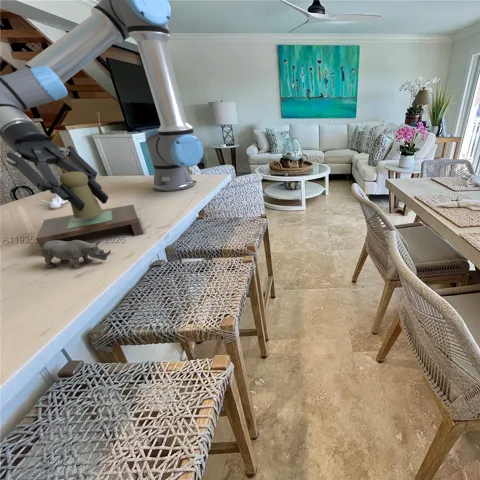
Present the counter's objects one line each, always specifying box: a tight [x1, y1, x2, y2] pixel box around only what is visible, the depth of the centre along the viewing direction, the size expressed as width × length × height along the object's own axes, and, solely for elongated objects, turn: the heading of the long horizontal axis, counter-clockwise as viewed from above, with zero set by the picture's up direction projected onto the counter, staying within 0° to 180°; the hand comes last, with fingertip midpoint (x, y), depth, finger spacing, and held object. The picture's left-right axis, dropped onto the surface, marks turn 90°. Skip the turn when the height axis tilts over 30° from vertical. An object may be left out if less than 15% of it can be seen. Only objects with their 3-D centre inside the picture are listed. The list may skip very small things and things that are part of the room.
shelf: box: [35, 204, 144, 249], centre depth 71 cm, size 20×14×5 cm
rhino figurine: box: [40, 239, 112, 269], centre depth 57 cm, size 4×14×6 cm, turn 93°
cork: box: [59, 171, 104, 218], centre depth 67 cm, size 6×6×11 cm
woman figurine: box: [40, 193, 69, 210], centre depth 96 cm, size 12×4×18 cm
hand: (94, 203), depth 67 cm, fingers closed on cork, 5 cm apart
